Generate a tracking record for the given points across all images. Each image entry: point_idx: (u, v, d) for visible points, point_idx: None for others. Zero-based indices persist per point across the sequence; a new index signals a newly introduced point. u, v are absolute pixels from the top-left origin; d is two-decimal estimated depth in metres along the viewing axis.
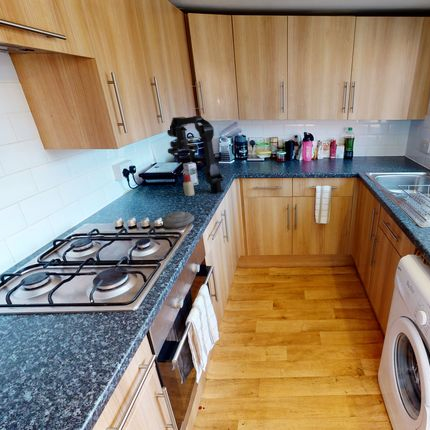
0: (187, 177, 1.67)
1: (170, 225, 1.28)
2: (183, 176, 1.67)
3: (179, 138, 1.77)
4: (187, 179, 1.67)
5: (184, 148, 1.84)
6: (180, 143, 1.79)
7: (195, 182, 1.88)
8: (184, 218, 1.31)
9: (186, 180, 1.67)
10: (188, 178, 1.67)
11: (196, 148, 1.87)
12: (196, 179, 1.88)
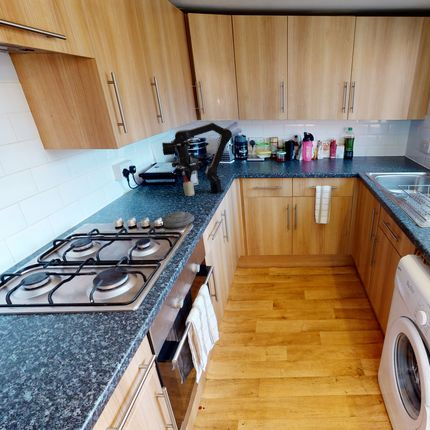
0: None
1: (170, 225, 1.28)
2: (183, 176, 1.67)
3: None
4: (187, 179, 1.67)
5: None
6: None
7: (195, 182, 1.88)
8: (184, 218, 1.31)
9: (186, 180, 1.67)
10: None
11: (188, 169, 1.59)
12: (196, 179, 1.88)
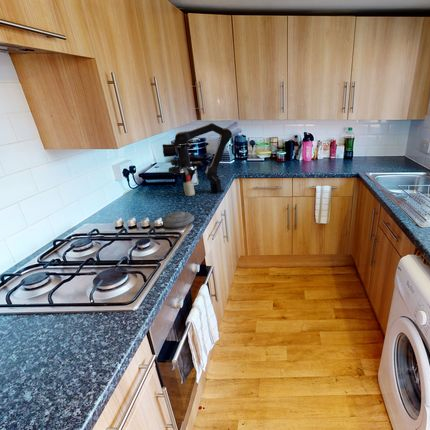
0: None
1: (170, 225, 1.28)
2: (187, 176, 1.66)
3: (181, 156, 1.60)
4: (190, 177, 1.69)
5: None
6: (182, 161, 1.62)
7: (195, 182, 1.88)
8: (184, 218, 1.31)
9: (190, 179, 1.69)
10: None
11: (199, 166, 1.70)
12: (196, 179, 1.88)
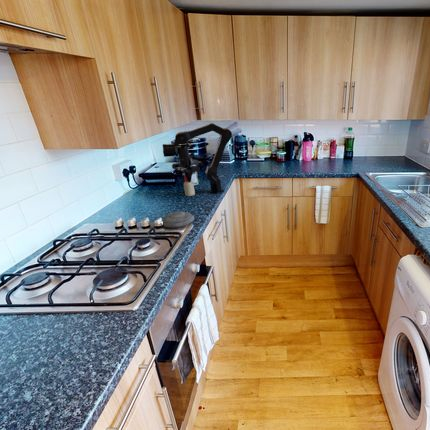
0: None
1: (170, 225, 1.28)
2: None
3: None
4: None
5: (185, 166, 1.67)
6: None
7: (195, 182, 1.88)
8: (184, 218, 1.31)
9: None
10: None
11: (189, 171, 1.59)
12: (196, 179, 1.88)
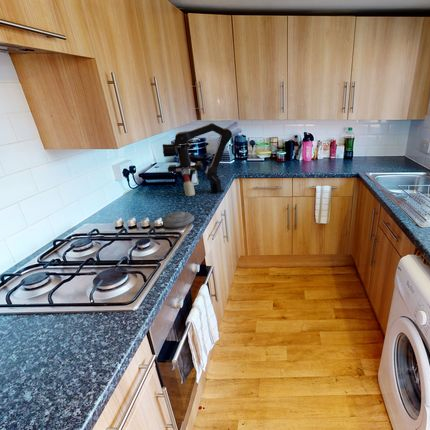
0: (189, 176, 1.67)
1: (170, 225, 1.28)
2: (184, 176, 1.66)
3: (178, 156, 1.61)
4: (189, 178, 1.68)
5: None
6: (179, 161, 1.62)
7: (195, 182, 1.88)
8: (184, 218, 1.31)
9: (189, 179, 1.68)
10: None
11: (198, 168, 1.65)
12: (196, 179, 1.88)
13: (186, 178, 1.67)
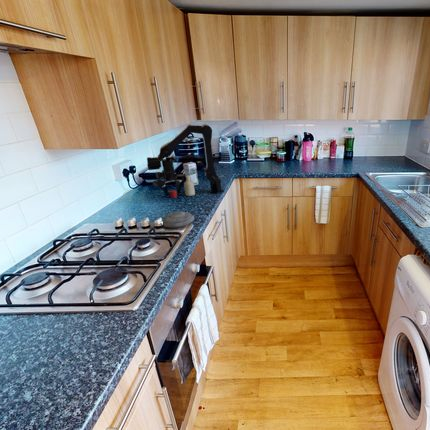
0: (176, 192, 1.69)
1: (170, 225, 1.28)
2: (173, 192, 1.66)
3: (166, 169, 1.59)
4: (176, 194, 1.69)
5: None
6: (167, 174, 1.60)
7: (195, 182, 1.88)
8: (184, 218, 1.31)
9: (176, 195, 1.69)
10: None
11: (185, 179, 1.69)
12: (196, 179, 1.88)
13: (174, 194, 1.67)
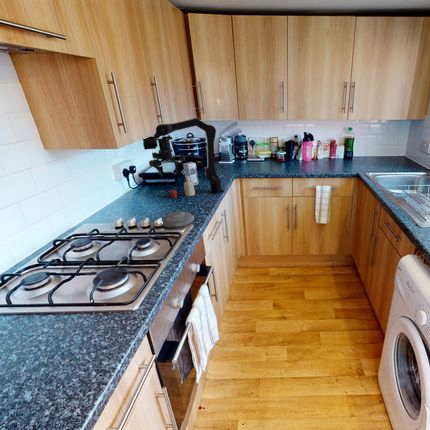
0: (176, 192, 1.69)
1: (170, 225, 1.28)
2: (173, 192, 1.66)
3: (162, 148, 1.55)
4: (176, 194, 1.69)
5: None
6: (163, 154, 1.56)
7: (195, 182, 1.88)
8: (184, 218, 1.31)
9: (176, 195, 1.69)
10: None
11: (182, 159, 1.64)
12: (196, 179, 1.88)
13: (174, 194, 1.67)
